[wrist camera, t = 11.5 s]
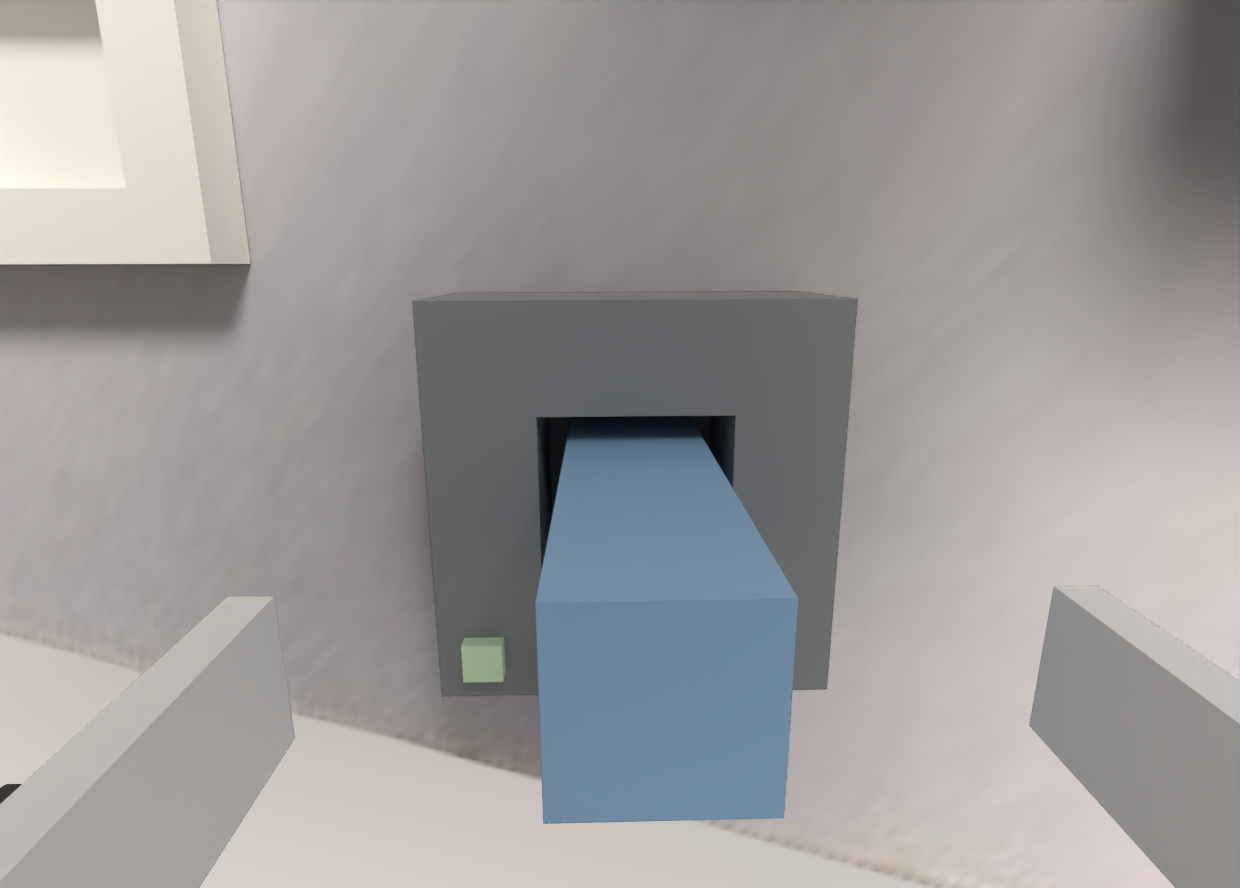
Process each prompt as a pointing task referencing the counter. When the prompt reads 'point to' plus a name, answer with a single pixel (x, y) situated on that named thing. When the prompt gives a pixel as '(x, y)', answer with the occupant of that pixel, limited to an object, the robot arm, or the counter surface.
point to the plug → (659, 635)
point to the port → (607, 387)
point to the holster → (116, 135)
